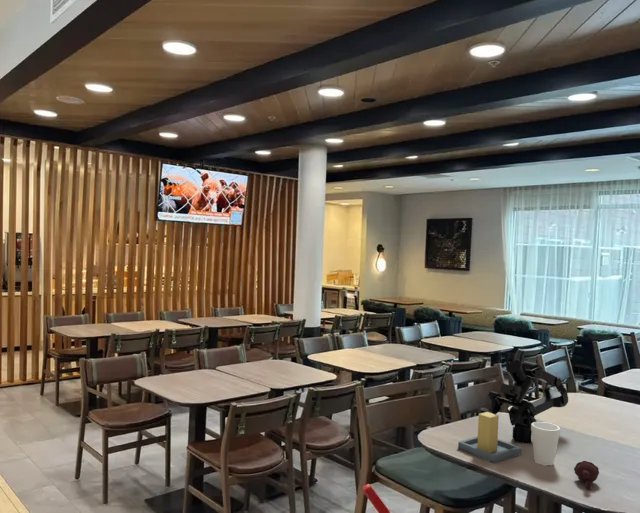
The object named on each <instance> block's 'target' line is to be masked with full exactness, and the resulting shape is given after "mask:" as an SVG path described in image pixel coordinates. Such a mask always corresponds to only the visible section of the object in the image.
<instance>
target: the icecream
mask: <svg viewBox="0 0 640 513" xmlns="http://www.w3.org/2000/svg"><path fill="white" fill-rule="evenodd" d="M573 470H574V474H575V475H576V477H577V479H578V480H580V481H581V482H584V483H585V487H586V489H587V490H591V489H592V487H593V483H594V482H595V481H596V480H597V479H598V476H599V474H600V471H599V470H600V469H599V467H598V466H597V465H595V464H594V463H593V462H592V461H587V460H582V461H579V462H577V463H576V464H575V466H574V468H573Z"/></svg>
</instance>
